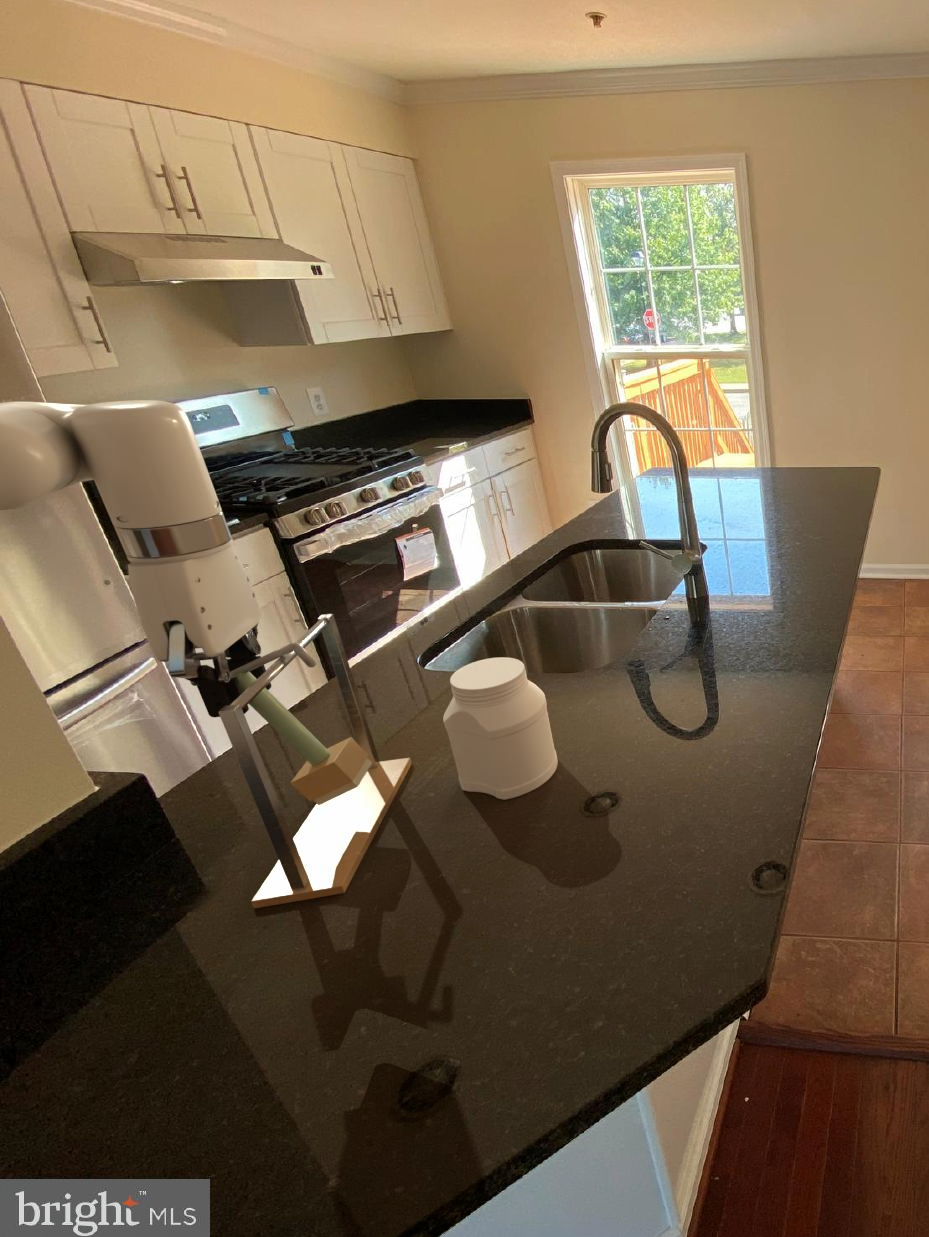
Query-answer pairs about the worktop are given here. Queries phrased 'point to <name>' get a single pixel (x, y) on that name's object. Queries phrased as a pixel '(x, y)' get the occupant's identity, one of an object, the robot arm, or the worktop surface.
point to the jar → (499, 729)
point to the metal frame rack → (332, 828)
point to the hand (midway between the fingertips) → (241, 700)
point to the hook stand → (307, 739)
